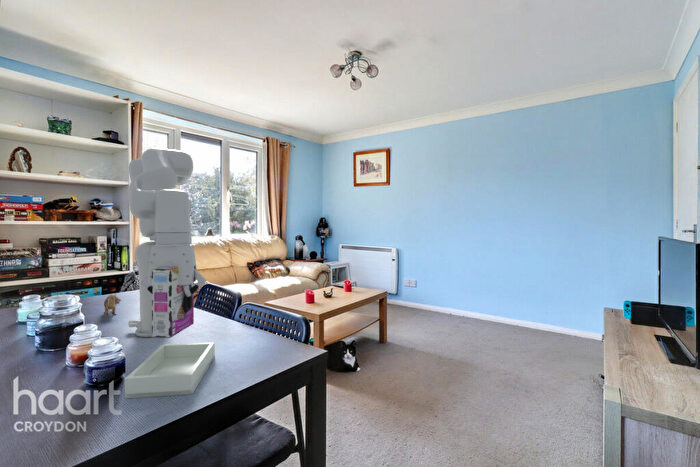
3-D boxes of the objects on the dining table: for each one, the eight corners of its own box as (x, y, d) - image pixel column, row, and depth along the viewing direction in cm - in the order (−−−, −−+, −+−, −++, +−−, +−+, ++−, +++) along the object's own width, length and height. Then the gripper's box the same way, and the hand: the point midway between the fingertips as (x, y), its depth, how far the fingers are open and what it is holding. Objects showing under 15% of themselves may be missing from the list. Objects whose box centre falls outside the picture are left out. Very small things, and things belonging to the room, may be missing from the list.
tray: (125, 398, 74) (124, 378, 74) (162, 360, 94) (162, 344, 94) (192, 394, 76) (191, 374, 76) (214, 357, 96) (214, 342, 96)
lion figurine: (122, 316, 136) (121, 294, 135) (106, 319, 132) (105, 296, 132) (114, 309, 146) (113, 288, 146) (99, 311, 142) (98, 290, 142)
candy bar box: (172, 338, 79) (170, 269, 78) (151, 338, 79) (149, 269, 78) (195, 323, 90) (194, 263, 89) (177, 323, 90) (176, 262, 89)
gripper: (128, 240, 79) (130, 317, 79) (205, 240, 81) (206, 314, 82) (143, 239, 86) (144, 308, 87) (213, 238, 88) (214, 306, 89)
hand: (174, 310), depth 84 cm, fingers closed on candy bar box, 5 cm apart
